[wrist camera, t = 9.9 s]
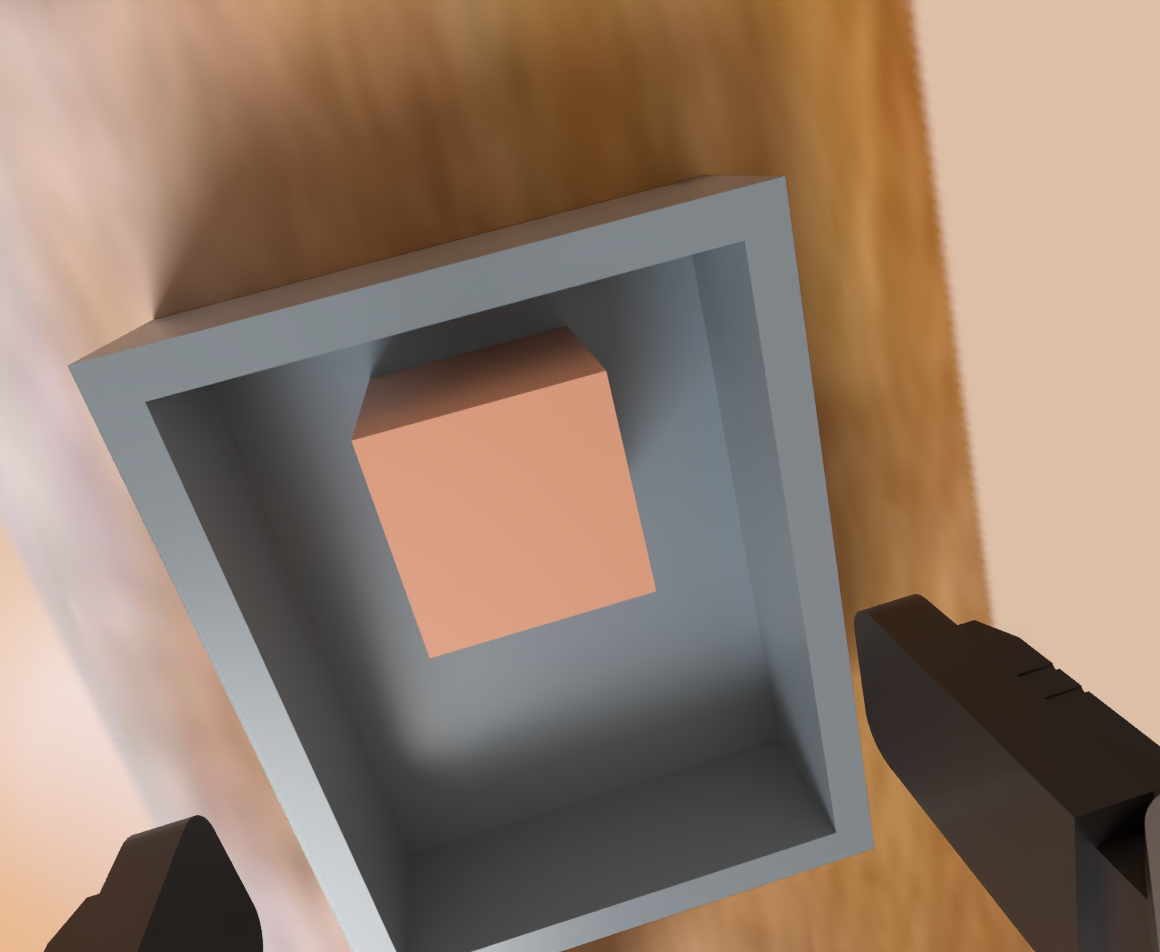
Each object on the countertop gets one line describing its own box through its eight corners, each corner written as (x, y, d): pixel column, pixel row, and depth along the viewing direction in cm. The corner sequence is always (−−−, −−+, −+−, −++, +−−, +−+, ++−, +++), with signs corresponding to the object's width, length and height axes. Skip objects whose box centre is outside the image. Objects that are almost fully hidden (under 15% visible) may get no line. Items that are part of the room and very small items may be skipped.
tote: (800, 734, 28) (874, 848, 23) (389, 864, 27) (380, 1010, 22) (706, 175, 21) (785, 176, 16) (152, 320, 20) (68, 365, 15)
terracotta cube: (566, 325, 21) (606, 370, 16) (609, 504, 22) (656, 591, 18) (369, 378, 20) (350, 440, 16) (430, 556, 22) (429, 658, 17)
